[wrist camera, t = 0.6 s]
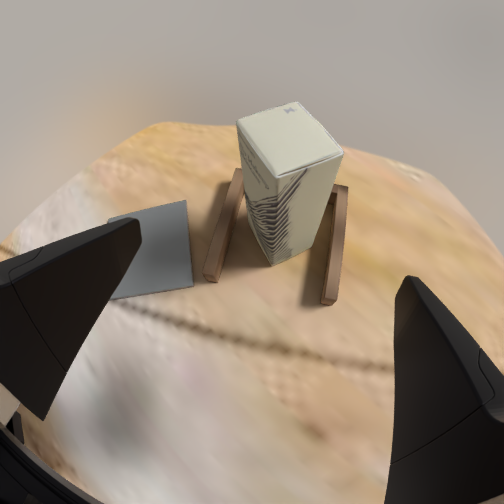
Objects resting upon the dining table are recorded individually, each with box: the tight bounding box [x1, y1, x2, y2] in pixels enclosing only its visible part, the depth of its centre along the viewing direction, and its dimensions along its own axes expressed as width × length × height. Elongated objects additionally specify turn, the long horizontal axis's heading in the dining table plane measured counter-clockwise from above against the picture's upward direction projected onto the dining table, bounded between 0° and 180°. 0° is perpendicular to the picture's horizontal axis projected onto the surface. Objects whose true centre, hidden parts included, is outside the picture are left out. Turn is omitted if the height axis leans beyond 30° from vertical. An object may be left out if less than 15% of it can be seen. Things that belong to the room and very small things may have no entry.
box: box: [236, 102, 344, 266], centre depth 20 cm, size 5×4×13 cm
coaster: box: [108, 200, 194, 300], centre depth 26 cm, size 9×9×1 cm
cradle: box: [202, 168, 348, 305], centre depth 25 cm, size 11×11×2 cm
